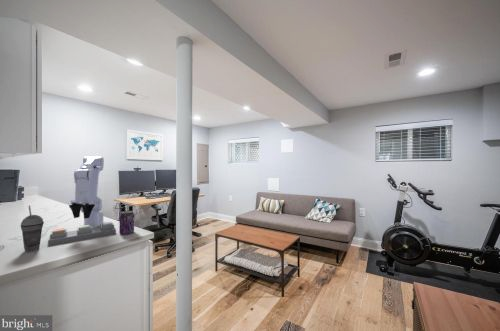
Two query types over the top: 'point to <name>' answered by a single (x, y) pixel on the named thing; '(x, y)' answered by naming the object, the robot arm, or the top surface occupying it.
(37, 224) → the beverage cup
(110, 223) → the slate button
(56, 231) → the terracotta button
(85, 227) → the sage button
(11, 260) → the top surface
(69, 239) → the button panel
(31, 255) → the top surface
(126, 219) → the beverage can
